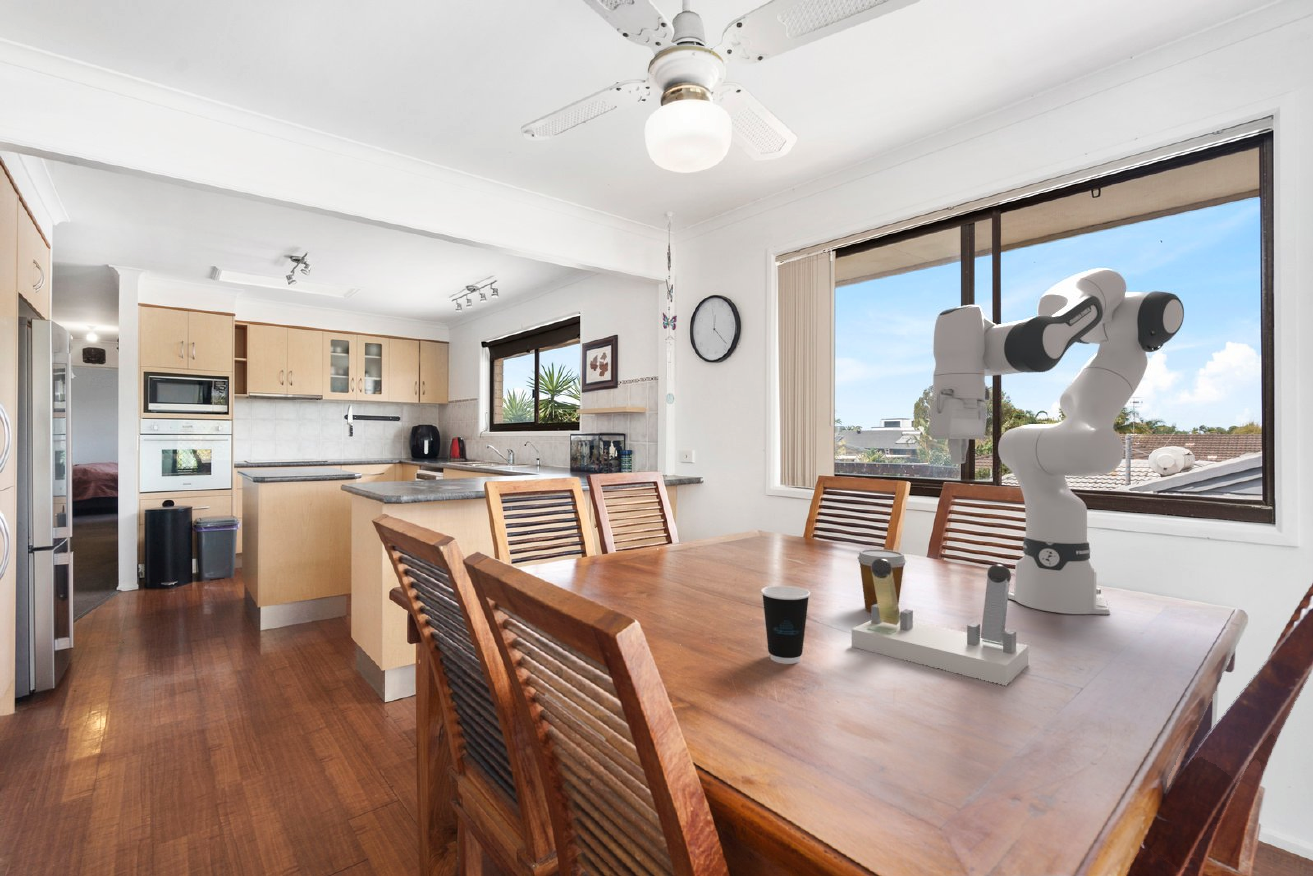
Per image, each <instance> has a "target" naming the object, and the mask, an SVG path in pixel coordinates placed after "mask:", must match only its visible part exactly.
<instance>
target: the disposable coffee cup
mask: <svg viewBox="0 0 1313 876" xmlns="http://www.w3.org/2000/svg"><path fill="white" fill-rule="evenodd" d="M878 558H883V559H886V560H888V561H889V562H890V564H891V566H892V572H893V578H894V584H895V589H896V595H897V601H898V605H900V604H899V603H900V598H901V596H900V595H901V589H902V582H903V573H904V567H905V565H906V562H907V560H906V559H905V554H904V553H902V552H900V551H896V550H891V549H880V548H879V549H875V548H873V549H872V548H871V549H861V550H859V553H858V556H857V560H858V563H859V568H860V577H861V582H862V585H861V586H862V592H863V600H864V608H865V611H867V612H869V613H871V606H873V605H875V604H878V603H877V597H876V592H875V587H874V581H873V576H872V571H871V564H872V562H873V561H874V560H876V559H878Z"/></svg>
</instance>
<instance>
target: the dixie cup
mask: <svg viewBox="0 0 1313 876" xmlns="http://www.w3.org/2000/svg"><path fill="white" fill-rule="evenodd" d="M760 593H761V595H762V601H763V602H762V603H763V611H764V621H765V633H766V641H767V651H768V653H769V658H770V660H771V661H773V662H775V663H777V664H782V665H792V664H798V663H799V662H800V661H801V657H802V655H803V649H804V642H805V633H806V631H805V630H806V624H807V623H806V622H807V614H808V606H809V597H811V592H810V590H808V589H806V588H802V587H799V586H793V585H792V586H791V585H770V586H769V585H768V586H766V587H765V586H764V587H763V588H761V589H760Z"/></svg>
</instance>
